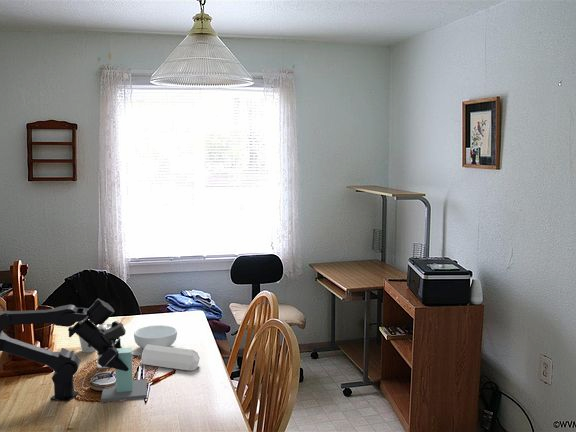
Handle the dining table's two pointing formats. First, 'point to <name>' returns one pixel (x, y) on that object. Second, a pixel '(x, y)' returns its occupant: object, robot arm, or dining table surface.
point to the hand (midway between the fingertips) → (128, 365)
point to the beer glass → (105, 327)
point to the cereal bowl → (155, 336)
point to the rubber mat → (136, 393)
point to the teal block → (124, 377)
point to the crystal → (170, 357)
